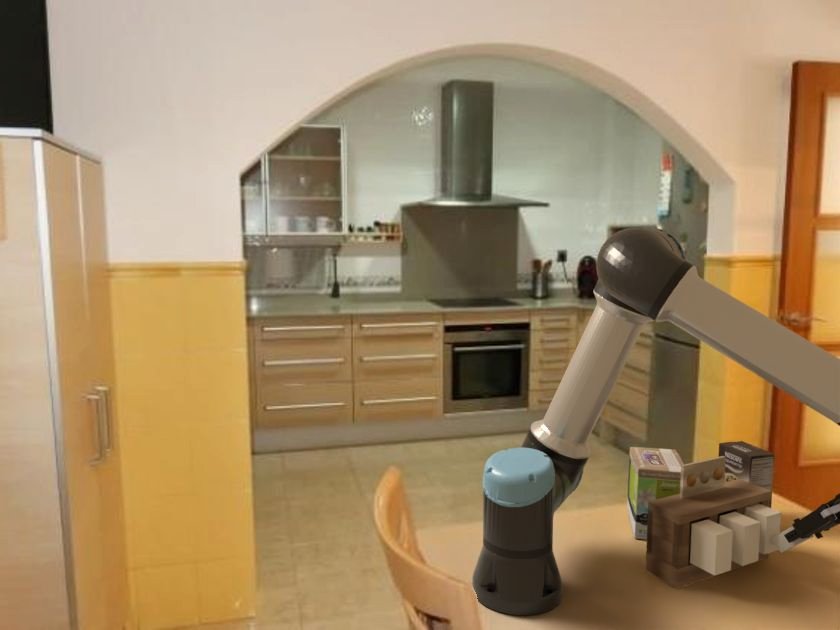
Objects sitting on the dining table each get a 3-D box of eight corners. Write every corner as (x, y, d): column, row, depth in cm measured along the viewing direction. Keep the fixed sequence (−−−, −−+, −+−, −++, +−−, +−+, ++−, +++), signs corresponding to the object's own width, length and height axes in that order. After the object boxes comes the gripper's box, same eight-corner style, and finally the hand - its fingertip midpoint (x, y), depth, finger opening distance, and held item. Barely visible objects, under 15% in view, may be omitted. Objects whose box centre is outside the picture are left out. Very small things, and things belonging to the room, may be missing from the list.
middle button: (717, 553, 119) (719, 515, 118) (733, 548, 121) (735, 511, 120) (742, 565, 114) (744, 526, 114) (758, 560, 116) (760, 522, 115)
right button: (739, 543, 123) (741, 506, 122) (753, 538, 125) (756, 502, 124) (764, 554, 118) (766, 516, 118) (778, 549, 120) (781, 512, 119)
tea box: (687, 544, 131) (690, 471, 130) (633, 540, 133) (636, 468, 132) (673, 513, 146) (676, 447, 144) (625, 509, 148) (628, 444, 146)
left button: (689, 562, 116) (691, 523, 115) (706, 557, 117) (707, 519, 117) (714, 575, 111) (716, 535, 110) (730, 570, 113) (732, 530, 112)
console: (645, 570, 121) (649, 469, 119) (735, 542, 132) (740, 448, 130) (676, 588, 115) (681, 481, 112) (768, 557, 126) (774, 459, 123)
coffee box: (713, 515, 145) (717, 442, 143) (737, 511, 147) (741, 439, 145) (745, 532, 136) (750, 455, 134) (771, 528, 138) (775, 452, 136)
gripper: (880, 515, 96) (767, 574, 113) (930, 499, 102) (815, 557, 119) (845, 468, 100) (741, 531, 117) (895, 455, 106) (789, 517, 123)
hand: (779, 544), depth 118 cm, fingers closed
